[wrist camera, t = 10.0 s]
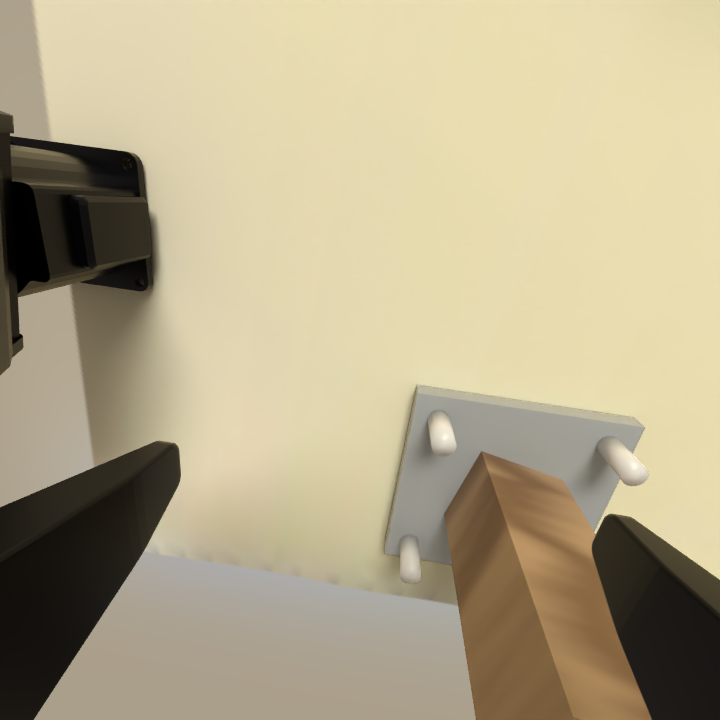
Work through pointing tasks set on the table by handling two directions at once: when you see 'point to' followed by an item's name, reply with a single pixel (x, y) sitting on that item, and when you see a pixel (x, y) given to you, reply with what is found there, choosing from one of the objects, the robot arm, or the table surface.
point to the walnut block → (534, 601)
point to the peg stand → (510, 442)
